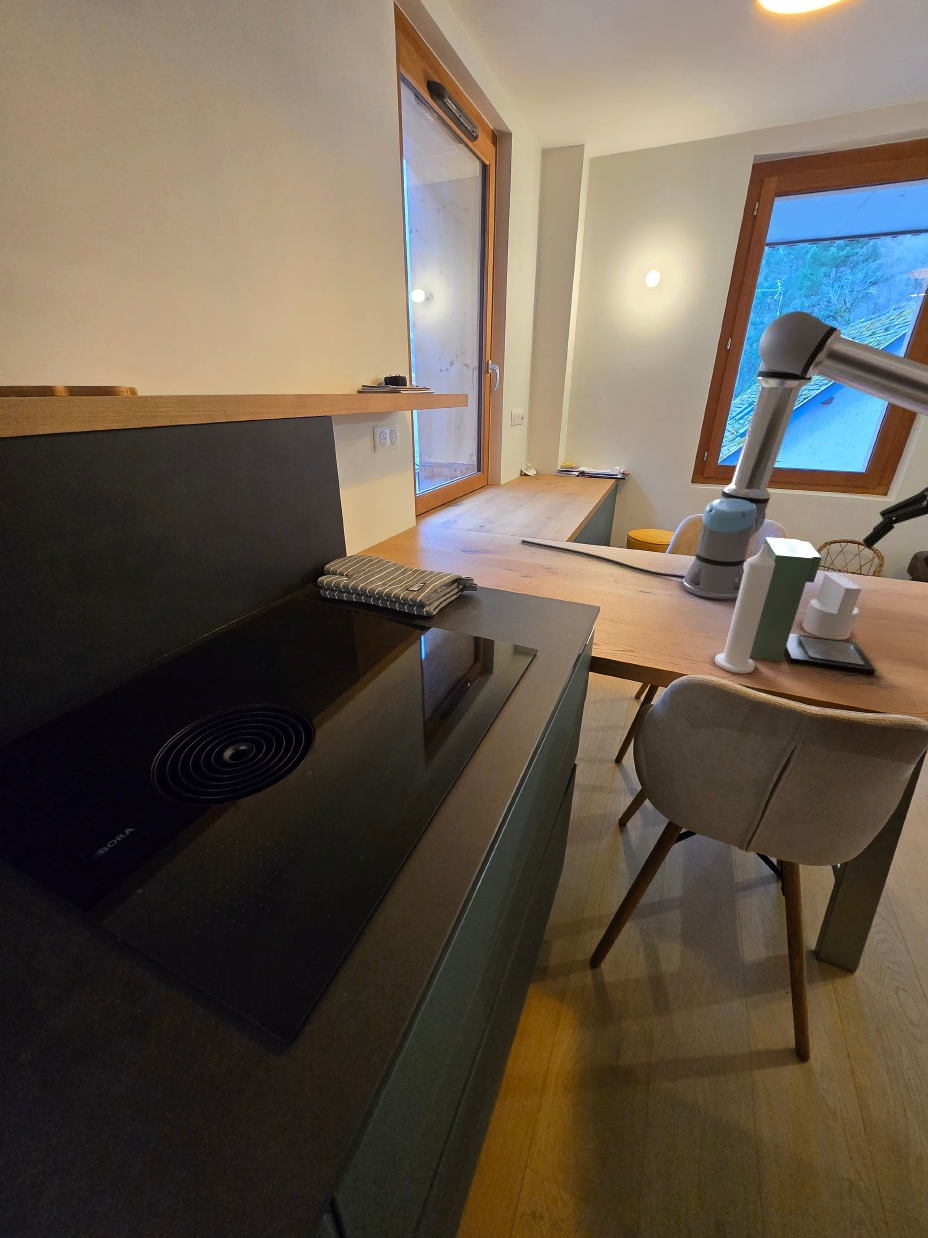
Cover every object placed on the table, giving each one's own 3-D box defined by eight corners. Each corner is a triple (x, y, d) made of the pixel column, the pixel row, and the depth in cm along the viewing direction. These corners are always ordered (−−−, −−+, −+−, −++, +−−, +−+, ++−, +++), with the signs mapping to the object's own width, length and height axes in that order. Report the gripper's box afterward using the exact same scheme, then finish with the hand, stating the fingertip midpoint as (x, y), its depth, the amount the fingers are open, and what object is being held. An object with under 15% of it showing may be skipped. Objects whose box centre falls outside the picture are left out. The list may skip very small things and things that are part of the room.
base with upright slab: (794, 620, 116) (809, 572, 111) (836, 622, 115) (853, 574, 109) (813, 638, 108) (830, 587, 103) (858, 640, 107) (878, 589, 101)
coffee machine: (747, 657, 101) (776, 554, 91) (740, 631, 111) (765, 537, 101) (873, 675, 94) (918, 567, 84) (853, 646, 104) (891, 547, 95)
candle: (707, 656, 101) (735, 538, 91) (740, 654, 102) (771, 537, 91) (727, 674, 95) (759, 550, 84) (761, 672, 96) (798, 549, 85)
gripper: (1064, 503, 91) (962, 585, 95) (928, 480, 113) (850, 547, 118) (1055, 475, 88) (950, 561, 92) (917, 457, 110) (838, 527, 115)
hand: (894, 553), depth 105 cm, fingers open, 13 cm apart
